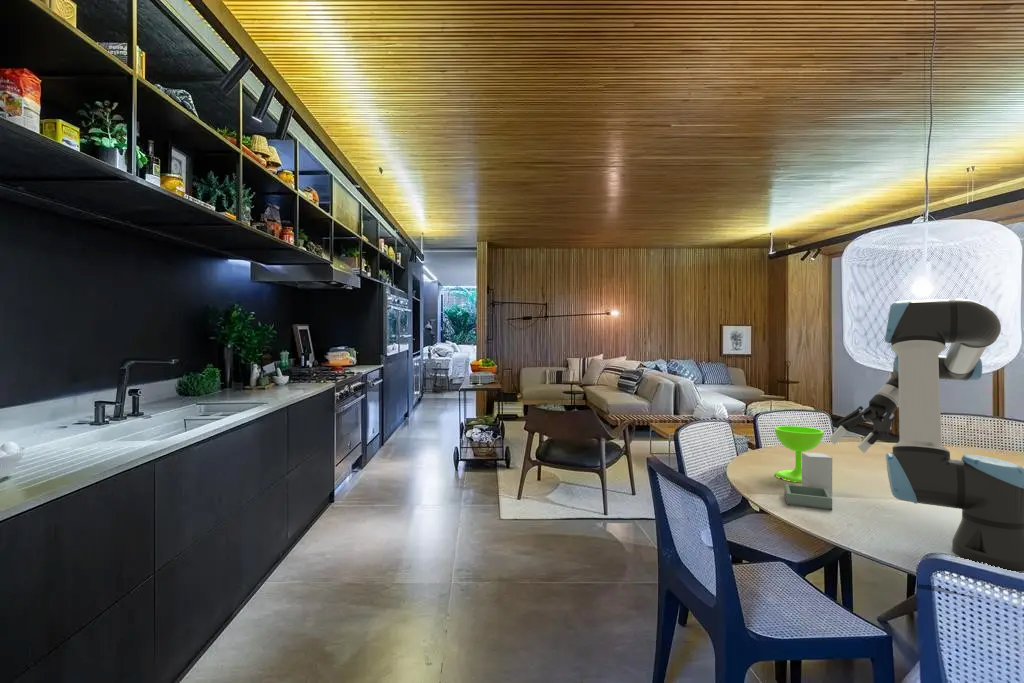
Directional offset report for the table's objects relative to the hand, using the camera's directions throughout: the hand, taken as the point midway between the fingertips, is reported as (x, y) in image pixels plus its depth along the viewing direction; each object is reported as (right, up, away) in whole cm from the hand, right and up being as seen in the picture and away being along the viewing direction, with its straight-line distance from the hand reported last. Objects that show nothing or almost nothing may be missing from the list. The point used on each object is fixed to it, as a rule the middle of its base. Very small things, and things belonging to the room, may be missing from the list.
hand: (845, 445), depth 180 cm
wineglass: (-7, -16, +17) cm, 24 cm away
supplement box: (-10, -16, -1) cm, 19 cm away
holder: (-20, -15, -12) cm, 28 cm away
